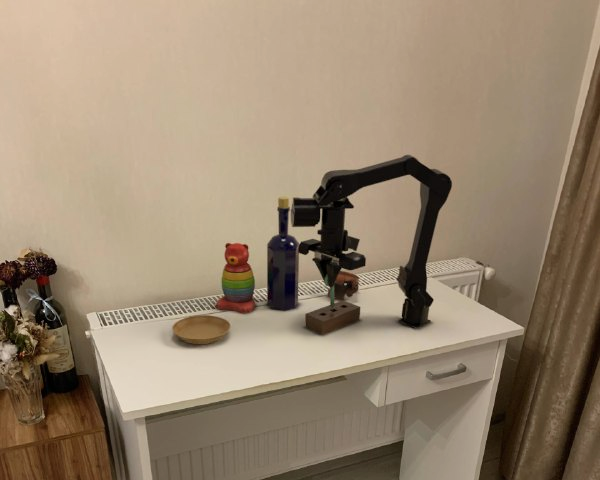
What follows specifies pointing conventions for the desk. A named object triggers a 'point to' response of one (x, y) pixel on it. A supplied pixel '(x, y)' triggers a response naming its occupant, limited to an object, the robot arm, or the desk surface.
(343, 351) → the desk surface
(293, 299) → the bottle
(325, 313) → the holder
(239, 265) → the stacking bear
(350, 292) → the pottery mug
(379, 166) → the robot arm
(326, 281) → the spoon
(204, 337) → the plant saucer
